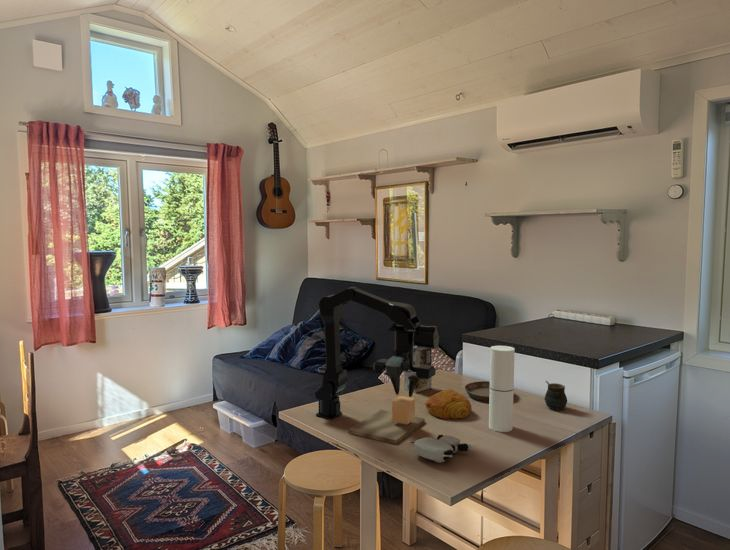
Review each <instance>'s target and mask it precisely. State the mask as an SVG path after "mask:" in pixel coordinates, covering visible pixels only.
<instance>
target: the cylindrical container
mask: <svg viewBox="0 0 730 550" xmlns="http://www.w3.org/2000/svg"><path fill="white" fill-rule="evenodd" d="M489 353H490V356H489V357H490V360H489V365H490V366H489V382H490V394H489V403H488V404H489V406H488V407H489V409H488V428H489V429H490V430H491V431H495V432H499V433H508V432H511V431H512V430H513V427H514V425H513V421H514V417H513V416H514V389H515V388H514V387H515V383H514V382H515V356H516V355H515V353H516V352H515V347H513V346H508V345H492V346H490V351H489Z"/></svg>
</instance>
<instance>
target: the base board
mask: <svg viewBox="0 0 730 550" xmlns="http://www.w3.org/2000/svg"><path fill="white" fill-rule="evenodd" d="M425 422H426V418H424V417H419V416H415V419H414V420H413V421H411V422H410V423H409V424H407V425H401V424H398V422H393V421H392V411H389V410H383V409H379V410H378V411H376V412H375V413H372V414H371V415H370V416H368V417H366V418H365V419H364V420H361V421H360V422H359V423H357V424H355V425H353V426H352V427H349V429H348V434H350V435H355V436H359V437H364V438H368V439H372V440H376V441H379V442H384V443H387V444H388V443H389V444H392V445H397V444H399V443H400V442H401V441H402V440H404V439H405V438H406V437H407V436H409V435H410V434H412V433H413V432H414V431H416V430H417V429H418V428H420V427H421V426H422V425H424V424H425Z"/></svg>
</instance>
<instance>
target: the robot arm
mask: <svg viewBox="0 0 730 550" xmlns="http://www.w3.org/2000/svg"><path fill="white" fill-rule="evenodd" d="M351 302H354V303H357V304H359V305H361V306H364V307H366V308H368V309H372V310H373V311H376V312H379V313H380V314H383V315H384V316H386V318H387V319H388V320H390V321H391V322H393V323H392V325H391V326H390V327H389V328H388V329H387V330H388V331H389V332H394V349H393V350H392V355H391V357H390V358H380V359H377V360H376V361H375V362H374V363H373V371H374V372H375V371H376V372H381V373H382V372H383V374H384V376H387V377H388V378H389V379H390V382H391V384H392V387H393V389H394V392H395V395H396V396H399V394H400V389H401V388H400V386H401V375H403V373H404V371H405V372H411V376H409V377H408V379H409V391H408V397H410V398H412V396H413V395H414V390H415V387H416V385H417V383H418V381H419V379H420V378H423V379H429V378H431V379H432V377H434V376H435V375H436V368H435V366H434V365H432V364H431V365H424V364H423V365H421V366H419V367H414V366H413V365H415V361H413V358H414V352H415V348H414V346H417V347H420V348H430V349H431V350H432V349H433V350H437V348H438V347H439V342H440V335H439V331H438V326H437V325H423V322H422V321H421V319H420V318H419V317H418V315H417V312H416V311H417V310H416V309H415V307H414V306H413V305H411V304H409V303H404V302H399V301H390V300H388V299H386V298H383V297H381V296H378V295H375V294H373V293H370V292H368V291H365V290H363V289H360V288H358V287H357V286H351V287H347V288H346V289H344V290H342V291H340V292H338V293H335V294H330V295H326V296H323V297H322V298H321V299H320V300H319V301H318V309H319V315H320V317H321V319H322V321H323V324H324V342H325V344H324V345H325V346H324V347H325V363H326V365H325V366H326V367H325V370H324V371H323V376H322V379H321V380H322V382H321V386H320V387H319V389H317V391H315V392H314V395H315V399H316V400H318V412H317V413H315V416H317V417H319V418H320V417H321V418H325V419H330V420H332V419H335V418H337V417H338V416H340V415H342V414H343V411H341V401H340V396H339V395H340V394H342V390H344V389H345V388H346V387H347V383H348V382H349V380H348V370H347V369H343V367H342V363H341V341H340V340H341V339H340V338H341V337H340V336H341V335H340V322H341V318H342V315H343V311H344V306H345V305H347V304H349V303H351ZM384 371H385V372H384Z"/></svg>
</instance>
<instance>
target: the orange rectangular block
mask: <svg viewBox="0 0 730 550" xmlns="http://www.w3.org/2000/svg"><path fill="white" fill-rule="evenodd" d="M391 403H392V404H391V405H392V406H391V407H392V408H391V412H392V421H393V422H398V423H403V424H409V423H410V422H411V421H413V420H414V419H415V417H416V416H415V415H416V407H415V406H416V398H415V397H409V396H403V395H398V397H395V398H394V399H393V400H392V402H391Z"/></svg>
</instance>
